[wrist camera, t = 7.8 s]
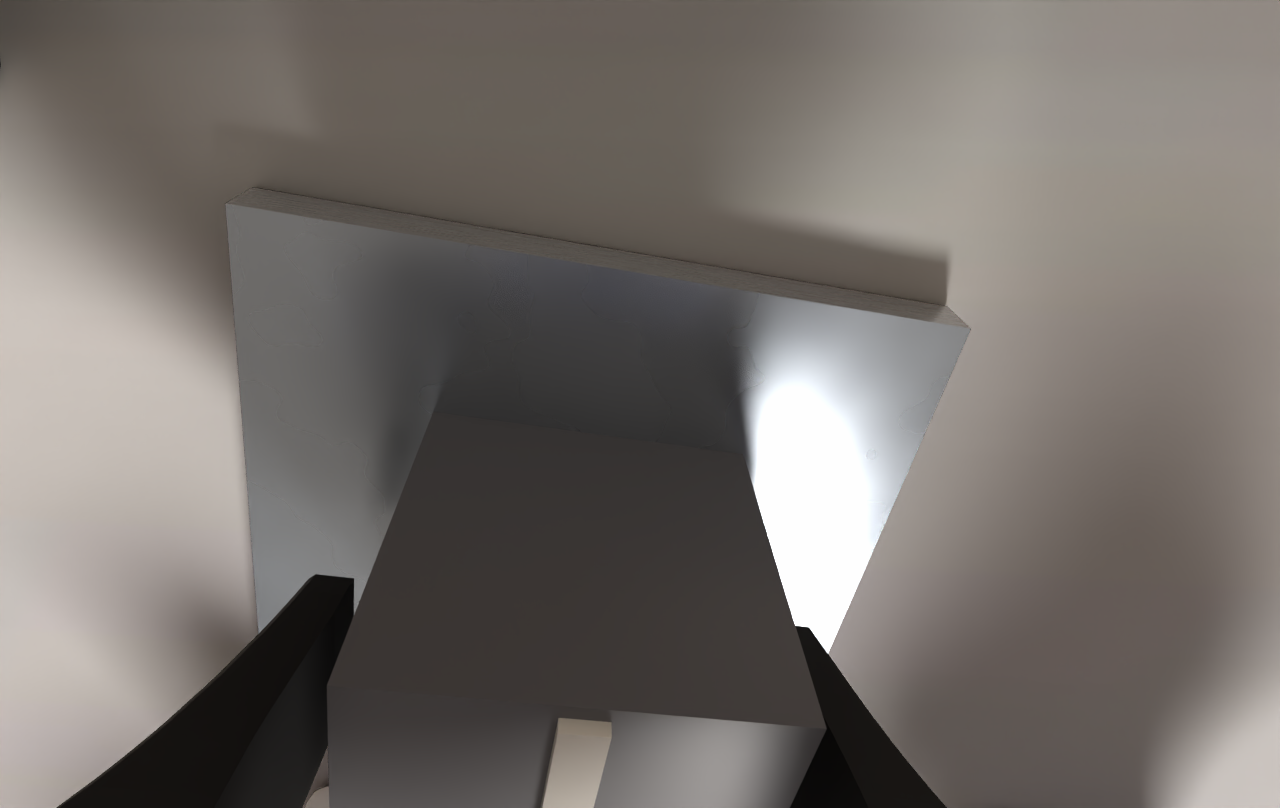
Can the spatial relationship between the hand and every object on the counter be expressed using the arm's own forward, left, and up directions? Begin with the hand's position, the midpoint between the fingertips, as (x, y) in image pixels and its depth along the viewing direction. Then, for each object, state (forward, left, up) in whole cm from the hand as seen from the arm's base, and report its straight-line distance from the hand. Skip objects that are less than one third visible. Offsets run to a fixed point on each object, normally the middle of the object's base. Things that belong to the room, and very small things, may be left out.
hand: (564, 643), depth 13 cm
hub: (0, 0, -3) cm, 3 cm away
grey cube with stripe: (0, 0, -2) cm, 2 cm away
